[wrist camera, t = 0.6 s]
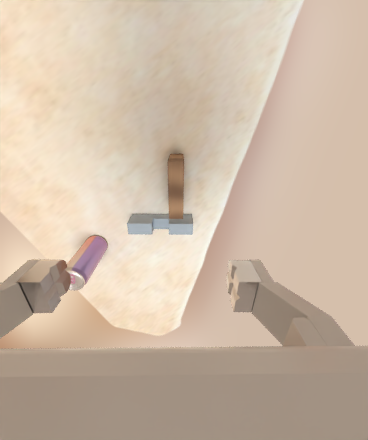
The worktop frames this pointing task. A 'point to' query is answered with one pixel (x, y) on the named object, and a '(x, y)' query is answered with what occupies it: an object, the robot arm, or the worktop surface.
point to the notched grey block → (159, 224)
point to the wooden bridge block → (176, 185)
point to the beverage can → (85, 261)
